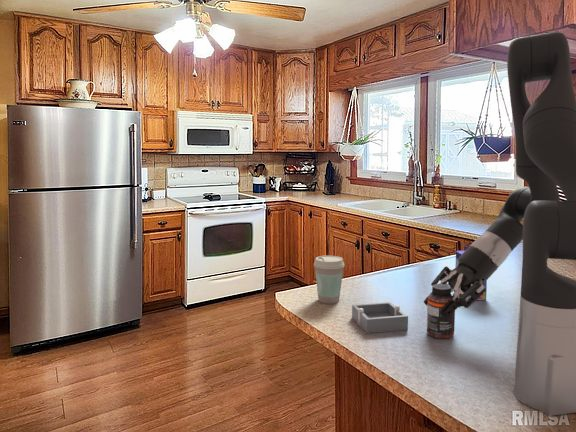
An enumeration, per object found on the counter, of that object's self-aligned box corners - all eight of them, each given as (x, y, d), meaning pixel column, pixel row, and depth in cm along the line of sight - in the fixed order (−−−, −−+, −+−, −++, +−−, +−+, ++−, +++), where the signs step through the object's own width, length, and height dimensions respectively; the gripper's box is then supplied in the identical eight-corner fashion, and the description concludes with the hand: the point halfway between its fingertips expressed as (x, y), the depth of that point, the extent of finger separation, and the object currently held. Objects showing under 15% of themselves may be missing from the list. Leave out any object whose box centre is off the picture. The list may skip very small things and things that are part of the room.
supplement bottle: (442, 327, 105) (444, 281, 103) (459, 337, 99) (462, 288, 98) (420, 331, 103) (422, 283, 101) (437, 341, 97) (439, 291, 96)
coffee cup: (320, 293, 130) (320, 253, 129) (348, 297, 127) (348, 256, 125) (308, 302, 123) (308, 260, 121) (338, 307, 119) (338, 263, 117)
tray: (408, 329, 104) (409, 313, 103) (365, 333, 102) (366, 316, 101) (390, 314, 114) (390, 299, 113) (351, 317, 112) (351, 302, 111)
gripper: (456, 239, 107) (408, 290, 106) (495, 252, 93) (440, 311, 92) (475, 259, 108) (428, 310, 108) (516, 275, 94) (462, 333, 94)
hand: (434, 310), depth 100 cm, fingers open, 6 cm apart
